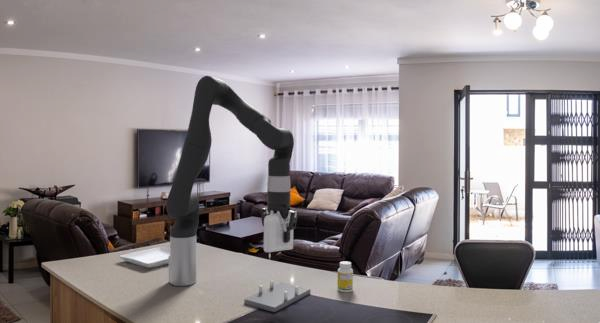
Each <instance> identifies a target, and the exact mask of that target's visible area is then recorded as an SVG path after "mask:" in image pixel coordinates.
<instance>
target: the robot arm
mask: <svg viewBox="0 0 600 323" xmlns="http://www.w3.org/2000/svg"><path fill="white" fill-rule="evenodd" d="M192 103H193V104H192V109H191V114H190V115H191V116H190V119H189V123H188V128H187V131H186V136H185V138H184V142H183V145H182V150H181V155H180V159H179V162H178V165H177V169H176V173H175V177H174V180H173V183H172V185H171V188H170V190H169V192H168V195H167V199H166V201H165V209H166V212H167V214H168V216H170V217H171V218H173V219H175V221H174V223H173V225H172V226H171V227H170V229H169V243H170V244H169V249H170V256H169V264H168V283H170V285H173V286H178V287H185V286H191V285H194V284H196V282H197V230H198V227H199V223H200V220H199V219H200V218H199V217H200V200H199V198H198V195H197V194H196V193H195V192H193V187H194V185H195V182H196V180H197V178H198V176H199V175H200V173H201V171H202V170H203V169H204V166H205V165H206V163H207V161H208V158H209V155H210V154H209V153H210V151H211V148H212V141H213V140H212V132H211V128H210V115H211V111H212V107H213V105H215V106H219V107H221V108H224V109H225V110H227V111H229V112H230V113H231V114H233V115H234V116H235V118H236V119H237V120H238V122H239V123H240V124H241V125H242V126H243V127H244V128H246V130H248V131H250V132H251V133H253V134H254V135H255V136H256V137H257V138H258V139H259V141H260V142H261V143H262V144H263V145H264V146H265V147H266V148H268V149H269V150H272V151H273V150H274V154H273V157H271V158H270V159H268V163H267V165H268V166H267V167H268V171H267V172H268V174H267V183H266V186H267V187H266V188H267V190H266V193H267V194H266V198H267V200H266V203H267V204H268V205H267V207H263V208H260V210H259V211H260V217H261V224H262V227H264V218H265V217H266V216H267V215H270V214H274V213H277V215H278V217H279V220H280V223H281V225H282V226H283V229H284V232H283V242H284V243H288V242H289V241H290V231H291V230H293V231H294V230H295V229H296V227H297V223H298V222H297V221H298V216H299V211H297V210H295V211H294V210H292V209H291V208H290V206H291V165H290V164H291V159H292V156H293V151H294V145H295V139H294V135H293V133H292V132H291V130H290V129H288V128H283V127H282V128H281V127H276V126H275V125H273V124H272V122H271V121H272V120H271V119H269V117H268V116H267V115H265V114H264V113H262V112H261V111H260V110H258V109H257V108H255V107H253V106H252V105H251V104H249V103H248V102H247V101H246V100H244V98H242V97H241V96H239V94H238V93H237V92H235V90H234V89H233V88H232V87H231V86H230V85H229V84H228V83H227V82H226V81H224V80H222V79H220V78H218V77H215V76H211V75H204V76H201V78H200V79H199V80H198V82H197V84H196V87H195V91H194V97H193V102H192ZM288 215H290V216H289V217H290V220H289V219H288V220H287V221H284V220H285V219H286V218H288ZM286 224H287V226H286Z"/></svg>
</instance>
